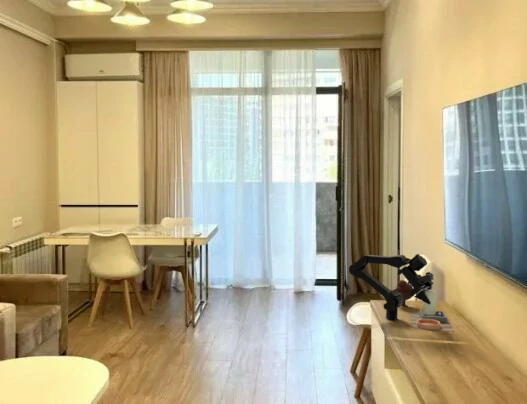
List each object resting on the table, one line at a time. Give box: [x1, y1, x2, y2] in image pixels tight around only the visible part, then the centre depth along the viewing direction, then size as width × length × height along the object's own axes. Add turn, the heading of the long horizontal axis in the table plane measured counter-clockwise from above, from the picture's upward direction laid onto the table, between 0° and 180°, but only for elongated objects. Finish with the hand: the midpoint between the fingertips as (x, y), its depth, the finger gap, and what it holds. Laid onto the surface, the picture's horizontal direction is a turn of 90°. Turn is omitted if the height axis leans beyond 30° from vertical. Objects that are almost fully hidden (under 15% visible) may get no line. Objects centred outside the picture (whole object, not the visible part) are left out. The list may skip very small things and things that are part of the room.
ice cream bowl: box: [395, 279, 413, 308], centre depth 328 cm, size 11×11×15 cm
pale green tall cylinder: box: [422, 289, 438, 315], centre depth 291 cm, size 6×6×12 cm
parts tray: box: [419, 309, 448, 323], centre depth 304 cm, size 12×12×3 cm
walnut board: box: [408, 312, 456, 333], centre depth 298 cm, size 29×19×1 cm, turn 171°
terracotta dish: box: [416, 319, 441, 331], centre depth 291 cm, size 11×11×2 cm
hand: (432, 302), depth 290 cm, fingers closed on pale green tall cylinder, 6 cm apart
